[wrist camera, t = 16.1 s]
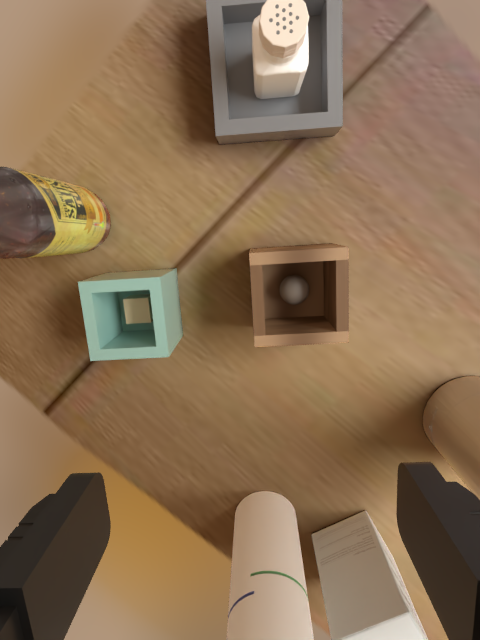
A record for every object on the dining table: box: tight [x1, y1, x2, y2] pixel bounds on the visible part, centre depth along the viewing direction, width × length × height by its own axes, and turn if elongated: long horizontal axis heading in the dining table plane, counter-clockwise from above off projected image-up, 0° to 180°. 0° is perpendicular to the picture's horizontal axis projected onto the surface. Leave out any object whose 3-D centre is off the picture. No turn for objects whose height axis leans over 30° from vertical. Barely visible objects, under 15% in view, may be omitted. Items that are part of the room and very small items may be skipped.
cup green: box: [78, 268, 183, 361], centre depth 37 cm, size 7×7×7 cm
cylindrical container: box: [227, 491, 314, 640], centre depth 34 cm, size 7×7×25 cm
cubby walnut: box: [249, 243, 349, 347], centre depth 36 cm, size 8×8×7 cm
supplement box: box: [312, 510, 428, 640], centre depth 40 cm, size 7×7×13 cm
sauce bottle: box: [0, 167, 111, 259], centre depth 29 cm, size 6×6×20 cm
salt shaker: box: [252, 0, 309, 99], centre depth 30 cm, size 4×4×10 cm
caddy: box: [206, 0, 343, 145], centre depth 33 cm, size 11×11×4 cm
